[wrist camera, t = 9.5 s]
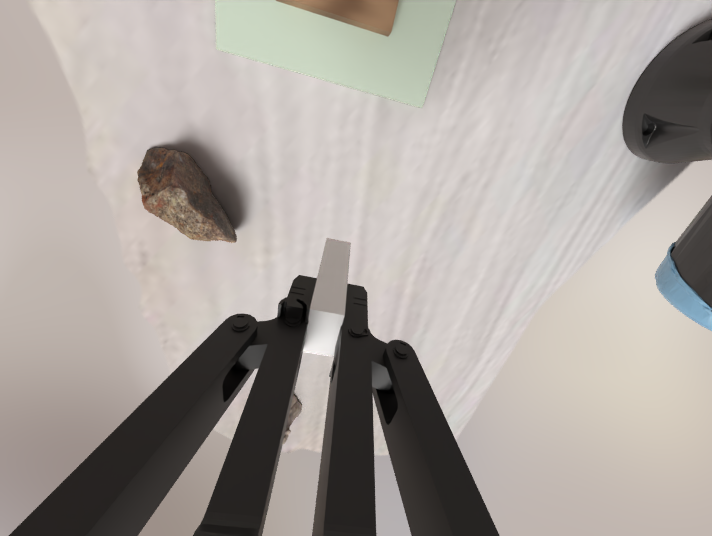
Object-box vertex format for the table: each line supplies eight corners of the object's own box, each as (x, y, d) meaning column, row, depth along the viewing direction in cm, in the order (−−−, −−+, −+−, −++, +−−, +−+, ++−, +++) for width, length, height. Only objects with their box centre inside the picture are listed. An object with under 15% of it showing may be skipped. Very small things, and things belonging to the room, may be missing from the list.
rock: (198, 130, 37) (134, 157, 38) (156, 132, 29) (79, 166, 30) (252, 230, 43) (196, 250, 44) (230, 253, 35) (163, 276, 37)
